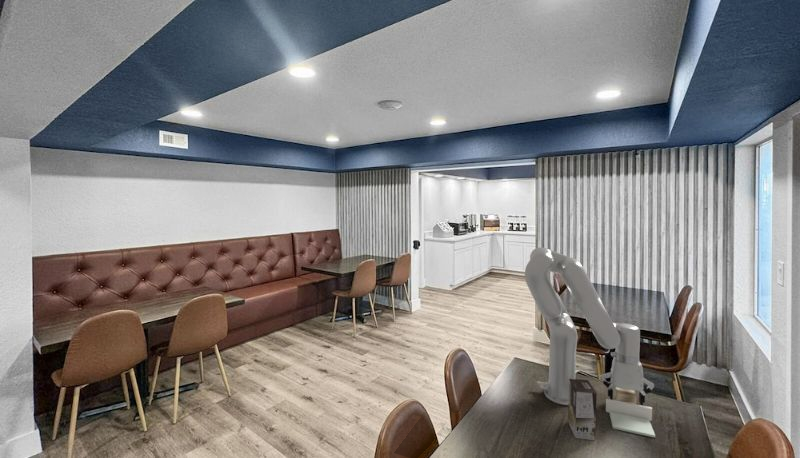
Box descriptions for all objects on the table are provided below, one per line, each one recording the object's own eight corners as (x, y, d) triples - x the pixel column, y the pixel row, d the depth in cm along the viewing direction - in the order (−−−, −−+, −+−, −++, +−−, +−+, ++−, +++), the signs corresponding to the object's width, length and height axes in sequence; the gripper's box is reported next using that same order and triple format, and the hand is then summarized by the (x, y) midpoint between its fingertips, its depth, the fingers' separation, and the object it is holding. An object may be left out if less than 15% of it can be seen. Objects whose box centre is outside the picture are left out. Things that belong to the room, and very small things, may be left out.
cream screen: (606, 411, 130) (606, 400, 129) (605, 410, 131) (606, 398, 131) (651, 421, 124) (652, 408, 124) (650, 419, 125) (651, 407, 125)
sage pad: (612, 428, 120) (613, 426, 120) (609, 413, 129) (609, 411, 129) (655, 437, 116) (655, 435, 115) (648, 421, 124) (649, 419, 124)
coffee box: (596, 440, 115) (597, 393, 113) (574, 438, 116) (576, 391, 114) (587, 423, 123) (588, 379, 122) (567, 421, 125) (568, 377, 123)
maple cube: (617, 408, 132) (617, 393, 131) (614, 400, 138) (615, 385, 137) (636, 412, 129) (636, 396, 129) (632, 403, 135) (633, 388, 135)
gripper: (601, 357, 132) (600, 401, 133) (657, 365, 125) (655, 411, 126) (599, 349, 139) (598, 391, 140) (652, 357, 132) (650, 400, 133)
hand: (625, 401), depth 133 cm, fingers open, 9 cm apart
